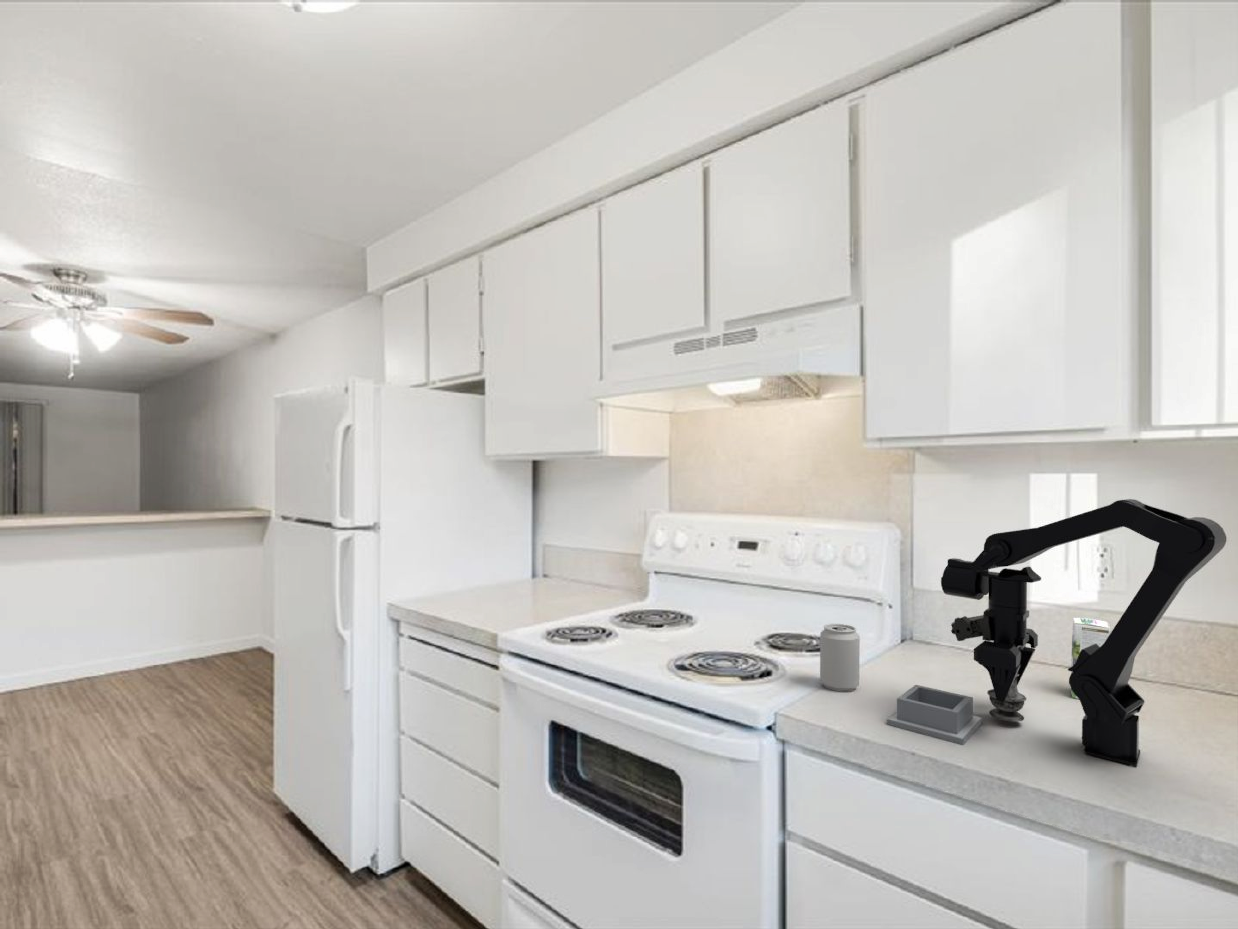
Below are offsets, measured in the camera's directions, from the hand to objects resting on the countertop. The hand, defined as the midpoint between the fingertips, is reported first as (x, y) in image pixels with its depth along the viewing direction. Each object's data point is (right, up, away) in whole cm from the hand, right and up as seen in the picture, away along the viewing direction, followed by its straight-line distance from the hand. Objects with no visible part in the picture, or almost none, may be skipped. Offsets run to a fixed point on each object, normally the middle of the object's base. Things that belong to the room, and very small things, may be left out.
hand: (1006, 694), depth 115 cm
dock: (-13, -5, -1) cm, 14 cm away
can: (-23, -5, +18) cm, 29 cm away
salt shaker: (0, -4, 0) cm, 4 cm away
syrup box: (+23, -5, +13) cm, 27 cm away
